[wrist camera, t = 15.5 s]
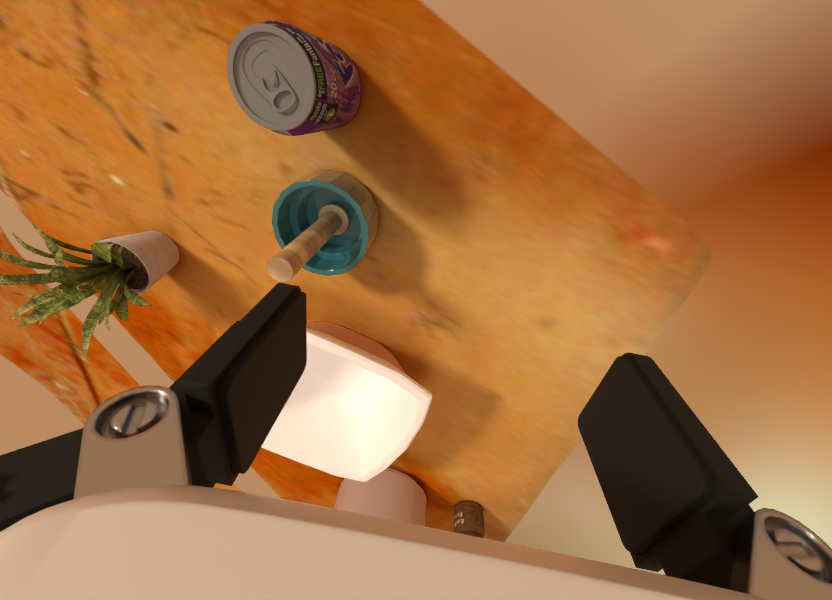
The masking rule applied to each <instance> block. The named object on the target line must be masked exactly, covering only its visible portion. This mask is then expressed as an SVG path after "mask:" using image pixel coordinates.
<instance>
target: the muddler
mask: <svg viewBox="0 0 832 600" xmlns="http://www.w3.org/2000/svg"><path fill="white" fill-rule="evenodd" d="M350 223H351V216H350V213H349V211H348V210H347V208H346V207H345V206H343V205H342V204H340V203H336V202H331V203H328V204H326V205H325V206H324V207H322V208H321V210H320V211H319V214H318V220H317V221H316V222H315V223H313V224H312V225H311V226H310V227H309V228H307V229H306V230H305V231H304V232H303V233H301V234H300V235H299V236H298V237H296V238H295V239H294V240H293V241H292V242H290V243H289V244H288V245H287V246H286V247H284V248H283V249H282V250H281V251H280V252H278V253H277V254H276V255H275V256H274V257H272V258H271V259H270V260H269V261H268V263H267V270H268V273H269V274H270V276H271V277H272V278H274V279H275V280H277V281H280V282H287V281H289V280H291V279H292V278H293V277H294V276H295V275H296V274H297V272H298V271H299V270H300V269H301V268H302V267H303V266H304V265H305V264H306V263H307V262H308V261H309V260H310V259H311V258H312V257H313V256H314V255H315V253H316V252H317V251H318V250H319V249H320V248H321V247H322V246H323V245H324V244H325V243H326V242H327V241H328V240H329V239H330V238H331V237H332V236H333V235H340V234H342V233H344V232H345V231H346V230H347V229H348V227H349V226H350Z"/></svg>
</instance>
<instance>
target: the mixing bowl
mask: <svg viewBox="0 0 832 600" xmlns="http://www.w3.org/2000/svg"><path fill="white" fill-rule="evenodd" d="M331 202H336V203H340V204H342V205H343V206H345V207H346V208H347V210H348V211H349V213H350V216H351V223H350V226H349V227H348V229H347V230H346V231H345V232H344V233H342V234H340V235H333V236H332V237H331V238H330V239H329V240H328V241H327V242H326V243H325V244H324V245H323V246H322V247H321V248H320V249H319V250H318V251H317V252H316V253H315V255H314V256H313V257H312V258H311V259H310V260H309V261H308V262H307V263H306V264H305V265H304V266H303V267H302V268H304V269H306V270H308V271H310V272H312V273H317V274H322V275H328V276H329V275H336V274H343V273H345V272H347V271H349V270H350V269H352V268H354V267H356V266H357V264H358V263H359V262H360V261H361V259H362V258H363V257H364V256H365V254H366V252H367V251H368V249H369V247H370V246H371V244H372V242H373V241H374V239H375V237H376V233H377V230H378V227H379V217H378V208H377V206H376V204H375V201H374V199H373V197H372V195H371V193H370V192H369V191H368V190H367V189H366V188H365V187H364V185H363V184H362V183H361V182H360V181H358V180H356V179H355V178H353V177H351V176H350V175H348V174H346V173H343V172H338V171H332V170H327V171H322V172H317V173H314V174H312V175H310V176H308V177H305V178H303V179H301V180H299V181H297V182H295V183H293V184H292V185H290V186H289V187H288V188H286V189H285V190H283V191H282V192H281V194H280V195H279V197H278V199H277V201H276V203H275V204H274V207H273V216H272V224H273V229H274V233H275V237H276V240H277V241H278V243H279V245H280V246H281V248H282V249H283V248H284V247H286V246H287V245H288V244H289V243H290V242H292V241H293V240H294V239H295V238H296V237H298V236H299V235H300V234H301V233H303V232H304V231H305V230H306V229H307V228H309V227H310V226H311V225H312V224H313V223H315V222H316V221H317V220H318V214H319V211H320V210H321V208H322V207H324V206H325V205H326V204H328V203H331Z"/></svg>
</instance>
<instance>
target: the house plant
mask: <svg viewBox="0 0 832 600" xmlns="http://www.w3.org/2000/svg"><path fill="white" fill-rule="evenodd" d="M32 225H33V226H34V227H35V229H36V230H37V231H38V232H39V234H40V235H42V236H43V237H44V238H45V239H46V241H45V242H46V245H47V247H48V249H49V250H50V251H51V252H52V253H53V254H55V255H53V254H48V253H46V252H43V251H41V250H38V249H36V248H33V247H31V246H29V245H27V244H25V243H24V242H23V241H22V240H21V239H20V238H19V237H17V236H16V235H14V234H13V235H14V236H15V238H16V239H17V241H18V242H19V243H20V244H21V245H22V246H23V247H25V248H26V249H28V250H29V251H31V252H33V253H36V254H38V255H41V256H44V257H48V258H54V259H55V262H56V264H58V265H59V266H55V265H47V264H41V263H36V262H32V261H28V260H24V259H21V258H19V257H16V256H13V255H10V254H8V253H5V252H2V251H0V258H2V259H4V260H7V261H9V262H12V263H15V264H18V265H21V266H25V267H30V268H36V269H47V270H51V271H50V272H49V273H48V274H26V275H4V276H3V275H0V284H4V285H18V284H47V283H52V282H58V283H62V284H60V285H59V286H57V287H55V288H53V289H50V290H48V291H46V292H43V293H41V294H39V295H37V296H36V297H34V296H29V295H24V294H19V295H23V296H27V297H30V298H32V299H30V300H29V301H28V302H27V303H26V304H24V305H23V306H22V307H21V308H20V309H19V310H17V311H16V312H15V314H14V315H13V317H12V318H11V320H12V319H15V318H16V317H18V316H20V315H22V314H23V313H25V312H27V311H28V310H30V309H31V308H33V307H35V306H36V308H35V309H34V310H33V311H32V312H31V314H29V315H28V316H26V317H25V318H24V319H22V320H21V322H20V324H19V326H25V325H28V324H32V323H35V322H37V321H40V320H41V321H40V324H41V323H42V322H43V320H44V319H45V318H47V317H49V316H51V315H53V314H55V313H57V312H60V311H62V310H64V309H67V308H69V307H71V306H74V305H76V304H78V303H80V302H81V301H82V300H83V299H85V298H87V297H89V296H91V295H93V294H95V293H96V292H102V293H101V295H100V296H99V298H98V300H97V302H96V304H95V305H94V306H93V308H92V309H91V311H90V313H89V314H88V316H87V318H86V320H85V322H84V325H83V328H82V348H83V351H84V353H85V355H86V357H87V355H88V347H89V343H90V339H91V336H92V333H93V331H94V328H95V326H96V324H97V322H98V320H99V318H100V317H101V318H100V320H99V324H100V323H101V322H102V321H103V320H104V323H105V326H106V328H107V329H108V330H109V331H110V325H109V322H108V318H109V315H110V314H112V313H113V312H114V310H115V311H116V313H117V315H118V316H119V317H120V319H122V320H123V321H125V322H126V321H127V320H128V305H127V299H128V300H129V301H130V302H131V303H132V304H134V305H139V306H151V305H149V304H148V303H147V302H146V301H145V300H144V299H143V298H142V297H141V296H139V295H138V294H140V293H143V292H145V291H146V290H148V289H149V288H150V287H151V286H152V285H153V284H154V283H156V282H157V281H158V280H159V279H160V278H161V277H162V276H163V275H165V274H166V273H167V272H168V271H169V270H170V269H171V268H172V267H174V266H175V265H176V264H177V263H178V261H179V251H178V248H177V246H176V244H175V243H174V242H173V240H172V239H171V238H169V237H168V236H167V235H165V234H163V233H161V232H159V231H145V232H140V233H135V234H130V235H125V236H120V237H115V238H110V239H105V240H101V241H98V242H96V243H93V244H92V245H91V251H90V250H85V249H82V248H79V247H75V246H72V245H69V244H67V243H64V242H61V241H59V240H57V239H55V238H52V237H50V236H48V235H47V233H46V234H45V233H43V232H42V231H41V230H40V229H39V228H38V227H37V226H35V225H34V224H32ZM47 232H48V231H47ZM57 245H59V246H60V247H64V248H67V249H70V250H75V251H79V252H84V253H88V254H90V257H91V260H86V259H83V258H79V257H76V256H73V255H71V254H68V253H66V252H64V251H63V250H62V249H60V247H58V246H57ZM63 260H67V261H70V262H73V263H77V264H82V265H86V266H88V267H67V266H66V265H65V264H64V262H63ZM115 289H117V291H116V293H115V296H114V298H113V299H112V301H111V298H112V296H113V293H114V291H115ZM14 294H18V293H14ZM110 301H111V303H110ZM103 312H104V314H103V315H102V313H103ZM101 315H102V316H101ZM39 326H40V325H39ZM39 326H38V327H39ZM86 359H87V358H86Z"/></svg>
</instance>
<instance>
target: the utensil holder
mask: <svg viewBox="0 0 832 600" xmlns="http://www.w3.org/2000/svg"><path fill="white" fill-rule="evenodd" d="M454 530H455V533H460V534H465V535H470V536H475V537H480V538H483V536H484V516H483V510H482V507H481V506H480V505H479V504H478V503H476V502H472V501H462V502H459V503H458V504H457V505H456V506H455V510H454Z"/></svg>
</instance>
